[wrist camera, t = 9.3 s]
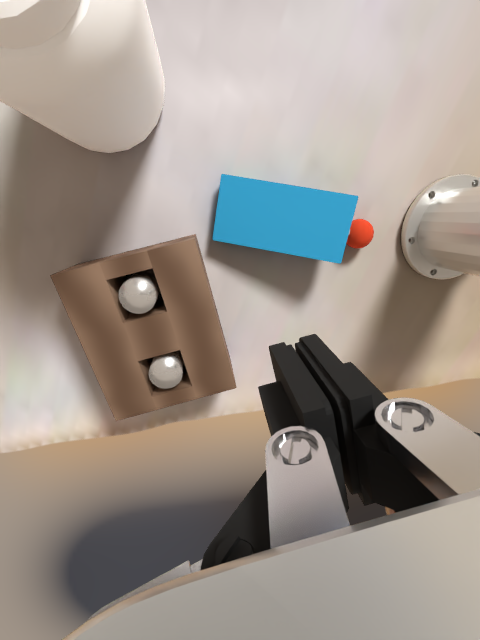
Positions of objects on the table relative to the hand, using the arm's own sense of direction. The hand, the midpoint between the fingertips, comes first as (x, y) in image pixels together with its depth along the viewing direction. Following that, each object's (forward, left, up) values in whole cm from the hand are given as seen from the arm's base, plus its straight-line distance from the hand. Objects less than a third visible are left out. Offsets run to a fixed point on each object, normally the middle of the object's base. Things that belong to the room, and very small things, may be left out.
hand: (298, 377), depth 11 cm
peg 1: (+10, 0, -29) cm, 30 cm away
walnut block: (+10, +4, -29) cm, 31 cm away
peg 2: (+10, +9, -29) cm, 32 cm away
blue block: (-9, -3, -29) cm, 31 cm away
